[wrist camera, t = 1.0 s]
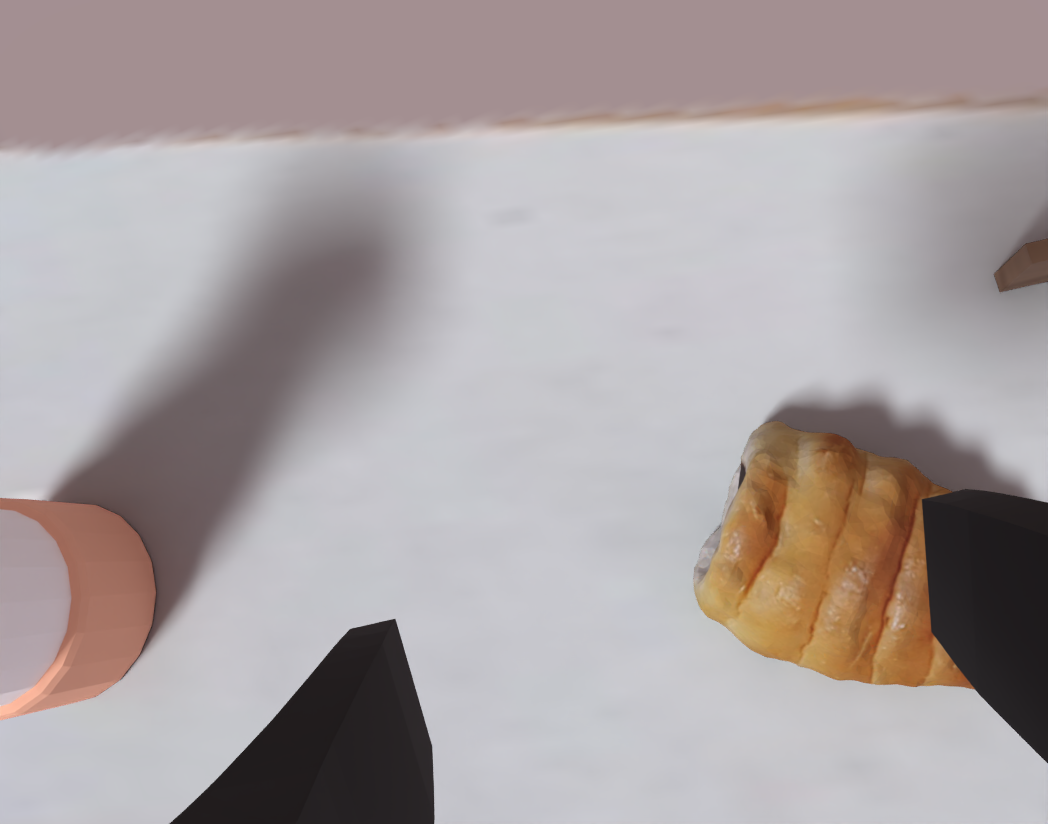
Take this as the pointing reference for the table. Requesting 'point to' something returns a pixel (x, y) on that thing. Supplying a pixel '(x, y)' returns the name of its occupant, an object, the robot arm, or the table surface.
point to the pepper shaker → (68, 602)
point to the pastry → (826, 561)
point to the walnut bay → (1024, 267)
